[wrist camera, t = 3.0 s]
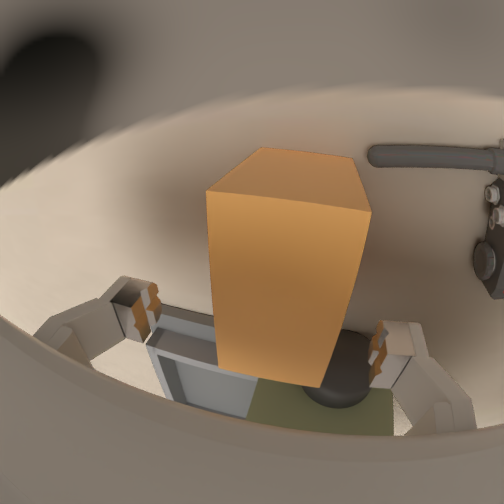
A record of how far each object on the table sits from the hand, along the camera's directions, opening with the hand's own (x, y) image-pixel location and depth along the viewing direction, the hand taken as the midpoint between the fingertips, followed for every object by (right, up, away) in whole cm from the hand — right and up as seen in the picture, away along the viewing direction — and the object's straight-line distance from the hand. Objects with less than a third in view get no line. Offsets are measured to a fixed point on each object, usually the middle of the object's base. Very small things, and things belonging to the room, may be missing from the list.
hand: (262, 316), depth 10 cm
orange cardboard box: (+2, +4, +5) cm, 7 cm away
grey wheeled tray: (+1, -10, +14) cm, 17 cm away
